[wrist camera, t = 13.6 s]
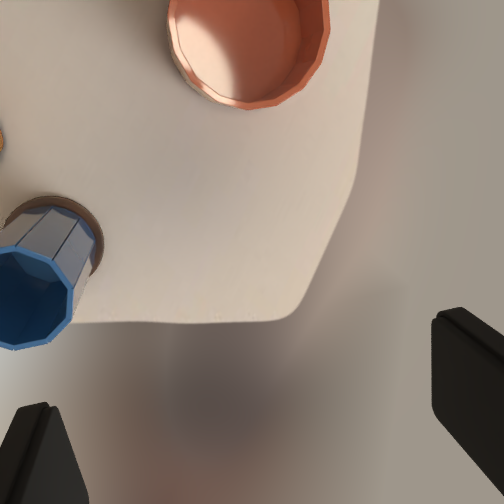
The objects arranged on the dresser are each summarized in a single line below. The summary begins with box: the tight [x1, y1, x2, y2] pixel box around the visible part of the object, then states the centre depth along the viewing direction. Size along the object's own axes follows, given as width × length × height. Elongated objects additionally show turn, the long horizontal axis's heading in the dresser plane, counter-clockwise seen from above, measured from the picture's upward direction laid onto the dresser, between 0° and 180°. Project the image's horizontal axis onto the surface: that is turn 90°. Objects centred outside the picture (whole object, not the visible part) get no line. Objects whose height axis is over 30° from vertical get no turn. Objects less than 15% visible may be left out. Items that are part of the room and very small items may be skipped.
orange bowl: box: [166, 0, 330, 110], centre depth 34 cm, size 11×11×6 cm
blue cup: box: [0, 206, 96, 350], centre depth 33 cm, size 7×7×11 cm
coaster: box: [3, 196, 104, 277], centre depth 39 cm, size 8×8×1 cm
